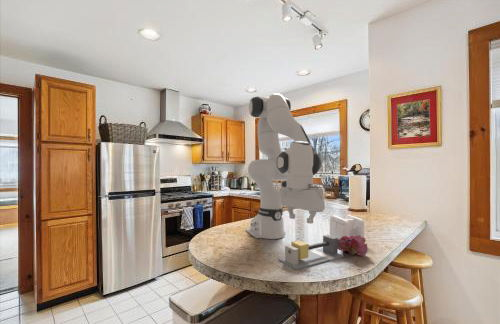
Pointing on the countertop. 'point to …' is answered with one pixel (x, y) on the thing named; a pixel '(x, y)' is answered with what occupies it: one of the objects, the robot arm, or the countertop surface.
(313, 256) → the grey slider rail toy
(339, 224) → the cable organizer
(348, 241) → the flower
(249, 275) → the countertop surface
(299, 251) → the sleeve
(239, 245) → the countertop surface
